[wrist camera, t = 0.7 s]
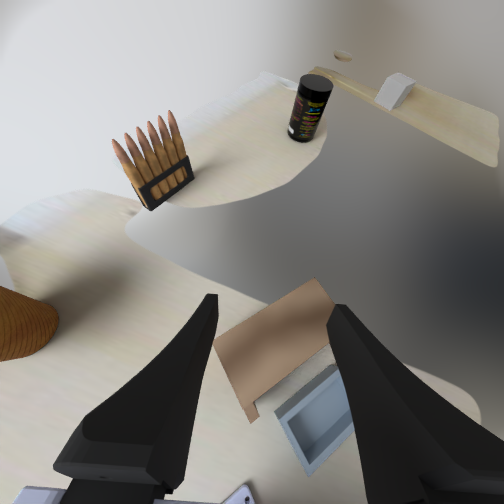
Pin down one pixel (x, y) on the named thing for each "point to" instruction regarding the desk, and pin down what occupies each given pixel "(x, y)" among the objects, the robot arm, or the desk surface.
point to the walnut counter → (274, 342)
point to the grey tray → (317, 418)
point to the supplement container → (309, 106)
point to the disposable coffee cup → (24, 325)
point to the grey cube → (394, 91)
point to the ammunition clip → (156, 163)
